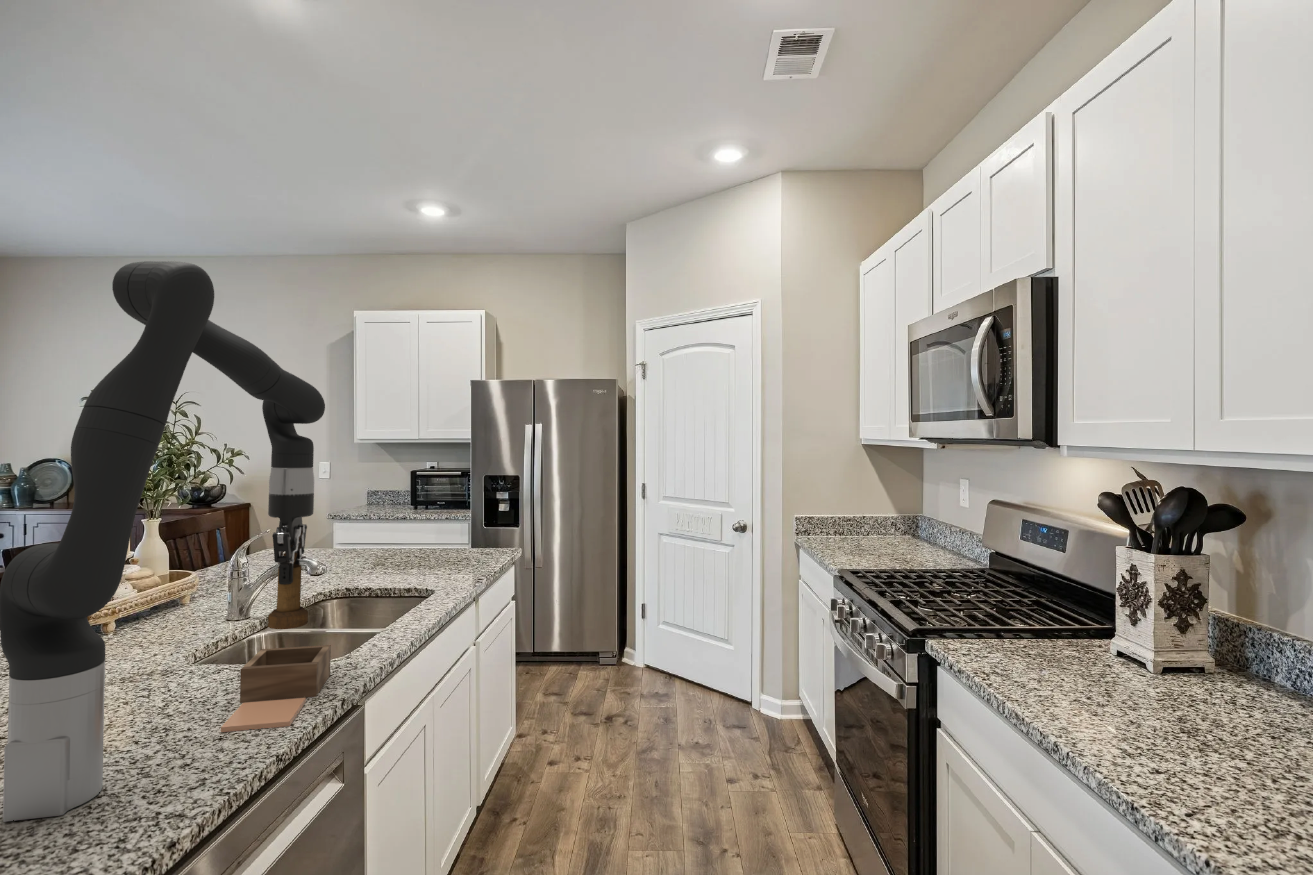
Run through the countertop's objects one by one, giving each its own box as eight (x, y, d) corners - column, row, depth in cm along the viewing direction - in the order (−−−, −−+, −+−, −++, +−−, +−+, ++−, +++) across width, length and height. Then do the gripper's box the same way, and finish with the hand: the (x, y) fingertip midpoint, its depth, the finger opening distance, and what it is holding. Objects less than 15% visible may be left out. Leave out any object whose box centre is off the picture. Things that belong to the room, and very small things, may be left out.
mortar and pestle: (289, 630, 119) (292, 532, 119) (259, 628, 120) (262, 531, 120) (315, 621, 125) (318, 528, 125) (286, 619, 126) (289, 527, 127)
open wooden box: (316, 696, 119) (316, 663, 119) (239, 702, 115) (240, 669, 115) (330, 674, 130) (330, 644, 130) (260, 679, 126) (261, 649, 126)
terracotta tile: (289, 726, 106) (289, 721, 106) (220, 732, 104) (220, 727, 104) (305, 702, 116) (305, 697, 116) (242, 707, 113) (243, 702, 114)
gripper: (303, 494, 117) (301, 588, 117) (322, 488, 131) (320, 573, 130) (257, 494, 115) (254, 590, 115) (280, 488, 129) (278, 574, 128)
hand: (289, 581), depth 123 cm, fingers closed on mortar and pestle, 4 cm apart
